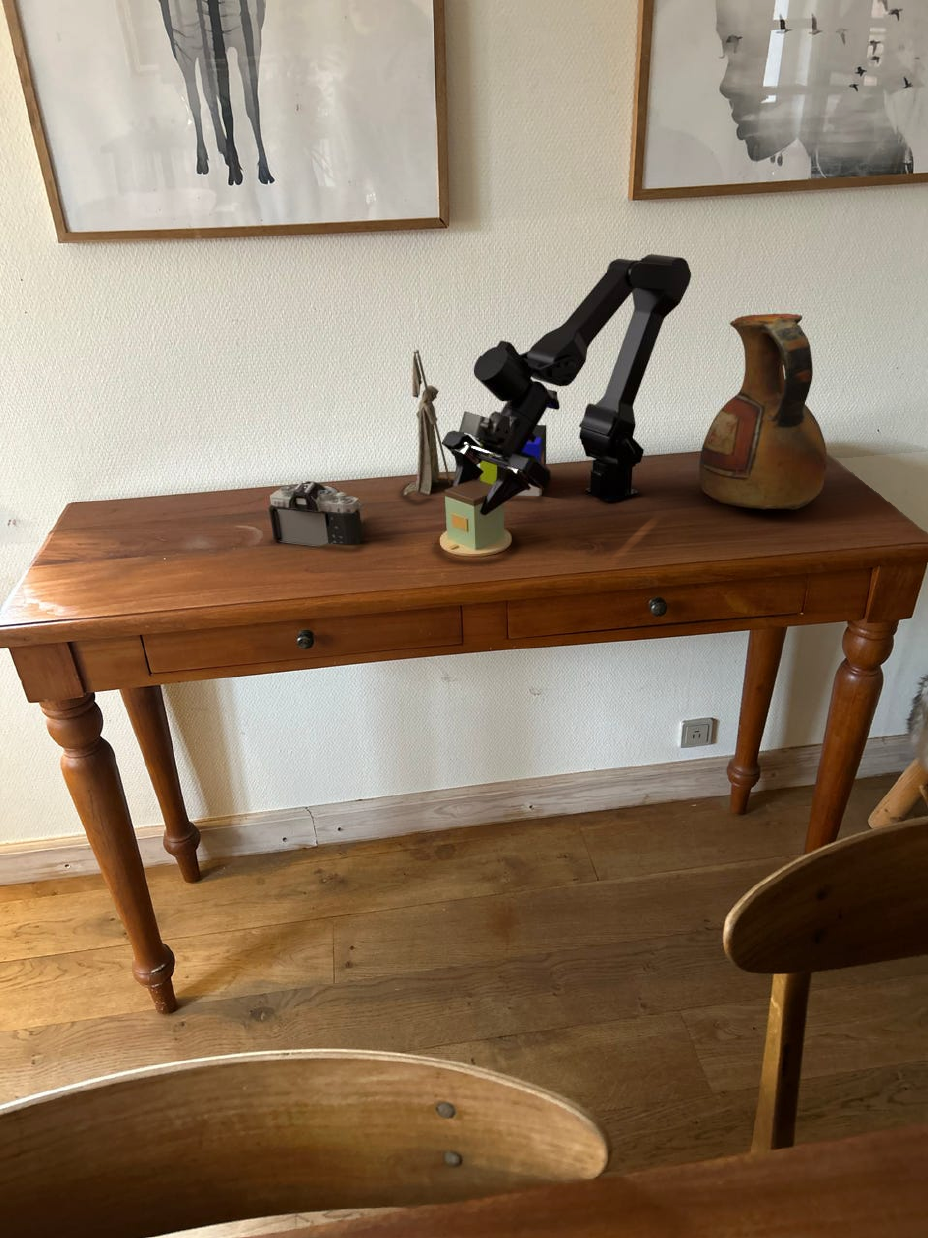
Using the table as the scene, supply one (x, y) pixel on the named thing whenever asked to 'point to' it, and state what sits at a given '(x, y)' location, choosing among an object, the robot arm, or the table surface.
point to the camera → (315, 515)
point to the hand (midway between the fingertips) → (467, 507)
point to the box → (473, 522)
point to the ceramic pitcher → (767, 423)
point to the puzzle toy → (530, 448)
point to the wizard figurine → (426, 433)
